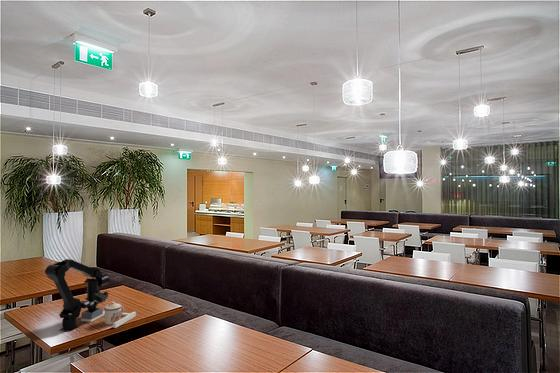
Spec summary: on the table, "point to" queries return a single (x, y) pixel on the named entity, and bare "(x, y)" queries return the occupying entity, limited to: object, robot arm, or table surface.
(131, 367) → the table surface
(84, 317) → the grey open storage bin
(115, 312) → the teacup with lid
